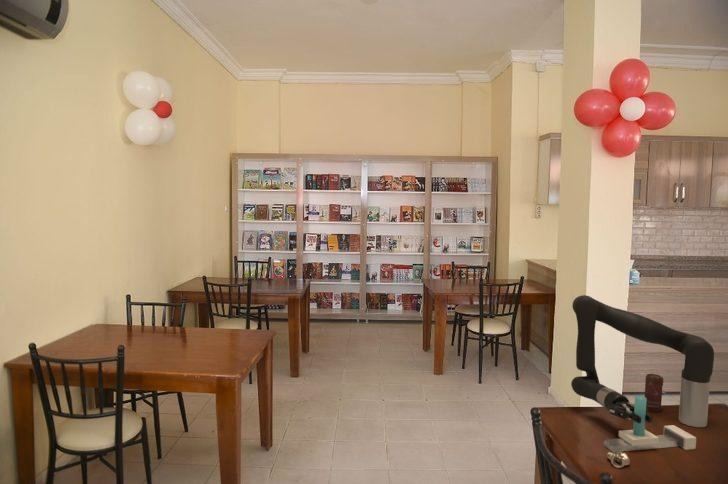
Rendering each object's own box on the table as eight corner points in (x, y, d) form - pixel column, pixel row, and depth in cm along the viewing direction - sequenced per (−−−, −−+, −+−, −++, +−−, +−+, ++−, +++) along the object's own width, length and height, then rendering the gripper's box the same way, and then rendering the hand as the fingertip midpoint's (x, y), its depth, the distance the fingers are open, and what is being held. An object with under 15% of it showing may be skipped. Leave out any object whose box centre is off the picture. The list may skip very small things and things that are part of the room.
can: (663, 412, 207) (666, 379, 206) (646, 411, 208) (648, 377, 207) (658, 407, 213) (660, 374, 211) (641, 405, 214) (643, 372, 213)
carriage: (643, 434, 182) (646, 393, 181) (658, 443, 175) (661, 400, 174) (618, 436, 180) (621, 394, 179) (632, 445, 173) (635, 402, 172)
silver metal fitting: (611, 455, 172) (611, 444, 171) (633, 462, 167) (634, 452, 167) (602, 463, 166) (602, 452, 166) (624, 471, 161) (625, 460, 161)
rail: (667, 439, 183) (667, 434, 183) (678, 446, 178) (678, 440, 178) (603, 445, 178) (603, 439, 178) (613, 452, 173) (613, 446, 173)
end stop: (672, 435, 186) (673, 425, 186) (695, 448, 177) (696, 437, 176) (661, 436, 185) (662, 425, 185) (684, 449, 176) (684, 438, 175)
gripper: (595, 392, 190) (627, 410, 173) (629, 389, 192) (664, 408, 175) (594, 411, 190) (626, 432, 173) (628, 409, 193) (663, 429, 176)
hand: (645, 420), depth 174 cm, fingers closed on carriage, 3 cm apart
